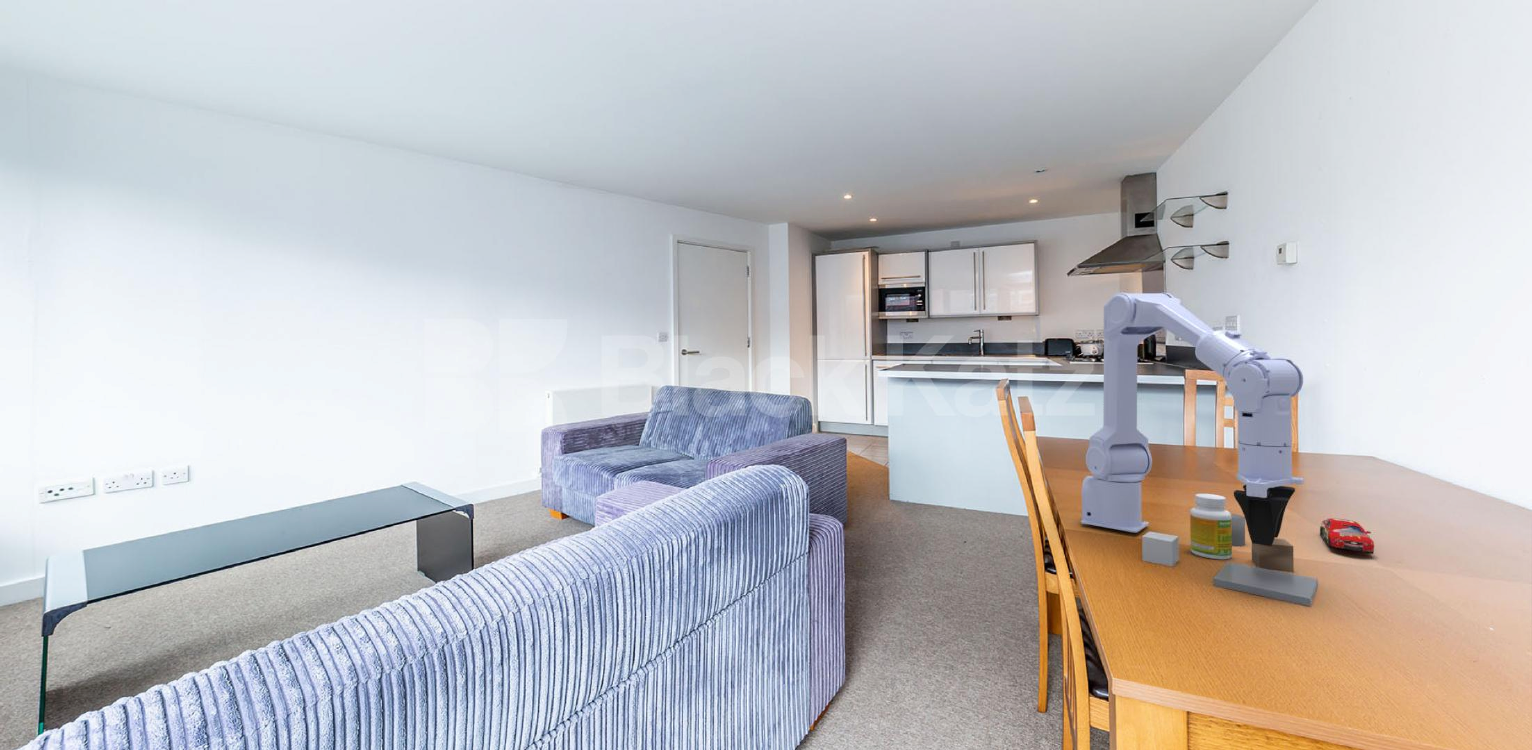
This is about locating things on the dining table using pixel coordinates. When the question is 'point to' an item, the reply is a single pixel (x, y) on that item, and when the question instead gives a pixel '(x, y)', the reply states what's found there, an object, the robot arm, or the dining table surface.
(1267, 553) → the walnut block
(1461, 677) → the dining table surface
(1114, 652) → the dining table surface
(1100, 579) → the dining table surface
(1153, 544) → the grey block
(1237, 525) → the slate grey block
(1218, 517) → the supplement bottle
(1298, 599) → the slate tile
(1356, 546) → the race car
